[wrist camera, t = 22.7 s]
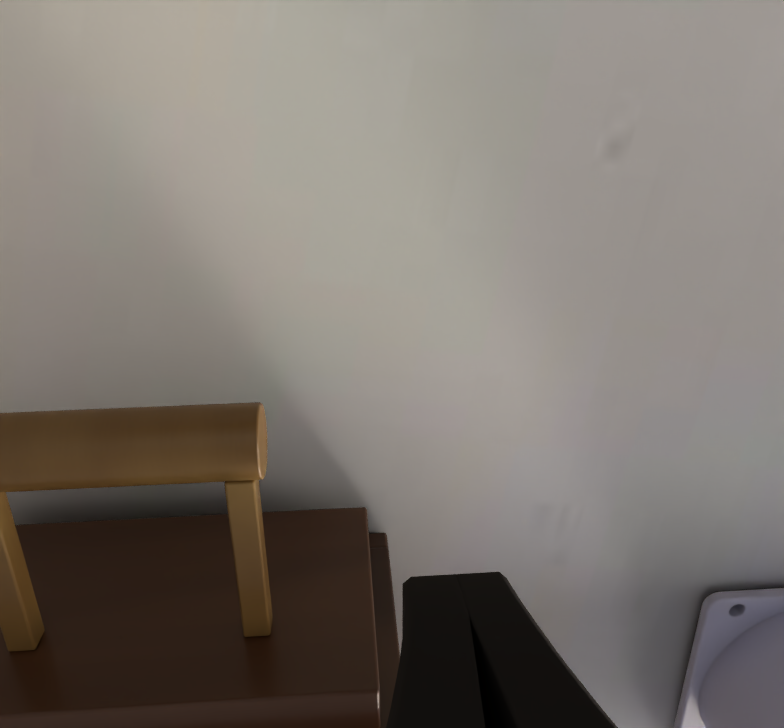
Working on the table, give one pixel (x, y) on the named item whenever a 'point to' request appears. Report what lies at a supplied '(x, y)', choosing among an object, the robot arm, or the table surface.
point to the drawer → (178, 584)
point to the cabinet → (384, 622)
